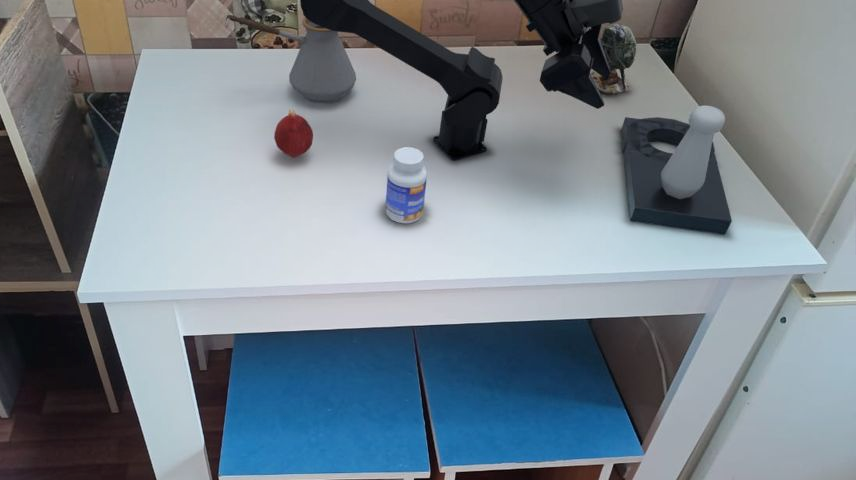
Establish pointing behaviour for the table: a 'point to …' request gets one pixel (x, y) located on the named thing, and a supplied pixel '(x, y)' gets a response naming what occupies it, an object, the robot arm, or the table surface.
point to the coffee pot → (315, 61)
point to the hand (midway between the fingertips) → (604, 90)
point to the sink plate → (646, 184)
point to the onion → (293, 135)
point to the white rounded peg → (692, 154)
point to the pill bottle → (406, 186)
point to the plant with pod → (616, 57)
